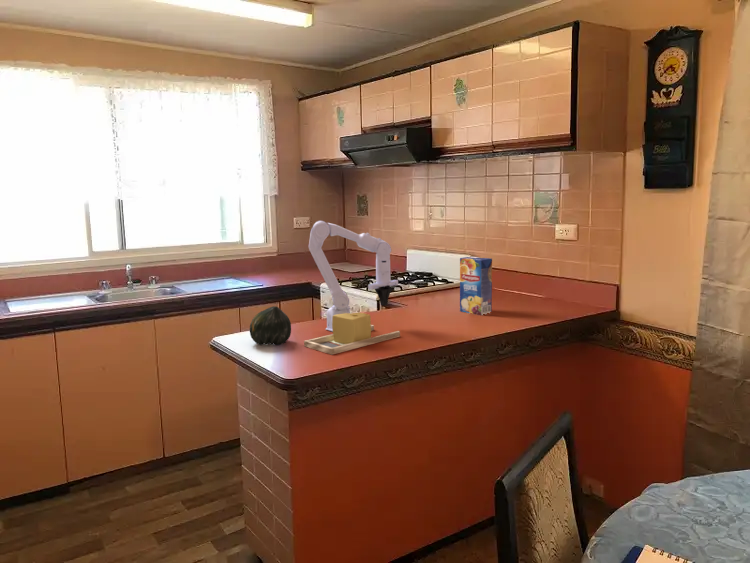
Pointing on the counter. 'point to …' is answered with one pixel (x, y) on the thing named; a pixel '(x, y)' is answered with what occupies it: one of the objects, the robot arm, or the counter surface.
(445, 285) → the counter surface
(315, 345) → the lane rails
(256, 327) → the squash
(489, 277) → the juice carton
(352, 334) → the cheese
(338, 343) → the pad
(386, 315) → the counter surface
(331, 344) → the pad
